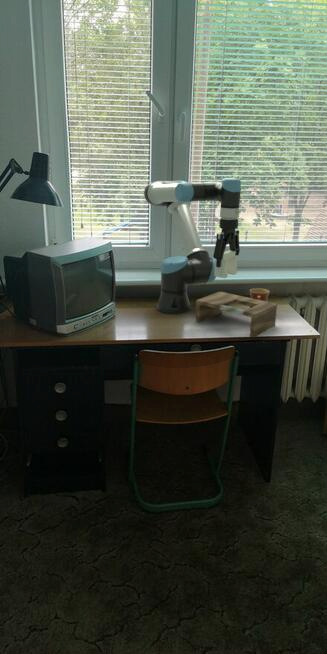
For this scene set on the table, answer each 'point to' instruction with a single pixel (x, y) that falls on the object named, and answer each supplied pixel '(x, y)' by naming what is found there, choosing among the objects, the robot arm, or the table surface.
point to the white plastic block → (228, 264)
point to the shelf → (238, 310)
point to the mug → (259, 294)
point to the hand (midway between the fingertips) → (225, 272)
